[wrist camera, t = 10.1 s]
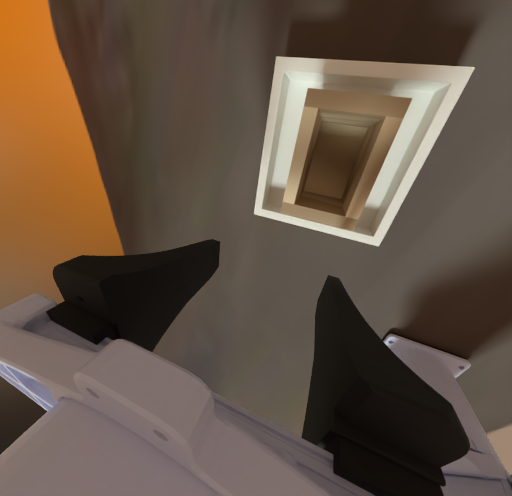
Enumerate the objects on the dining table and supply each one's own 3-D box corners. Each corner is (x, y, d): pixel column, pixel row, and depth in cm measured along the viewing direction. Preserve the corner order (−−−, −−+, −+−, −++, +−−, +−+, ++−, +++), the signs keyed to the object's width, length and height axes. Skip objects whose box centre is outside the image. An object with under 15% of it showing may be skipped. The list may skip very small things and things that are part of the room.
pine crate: (346, 208, 17) (353, 231, 12) (294, 196, 19) (280, 212, 13) (382, 117, 14) (412, 97, 9) (315, 109, 15) (307, 87, 10)
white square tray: (372, 234, 18) (378, 246, 16) (262, 207, 21) (253, 214, 18) (448, 83, 13) (475, 67, 10) (284, 71, 15) (276, 56, 13)
